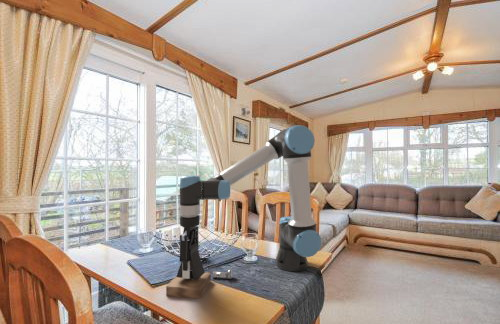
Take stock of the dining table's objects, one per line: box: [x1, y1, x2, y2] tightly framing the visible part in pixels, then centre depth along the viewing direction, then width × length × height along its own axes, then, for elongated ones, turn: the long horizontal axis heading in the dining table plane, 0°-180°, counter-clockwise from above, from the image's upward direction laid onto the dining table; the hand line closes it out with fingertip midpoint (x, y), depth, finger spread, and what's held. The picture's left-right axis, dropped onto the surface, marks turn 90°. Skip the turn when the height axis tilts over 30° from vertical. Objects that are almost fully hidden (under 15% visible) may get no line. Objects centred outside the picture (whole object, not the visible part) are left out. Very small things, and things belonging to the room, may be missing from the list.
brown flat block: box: [165, 272, 212, 299], centre depth 98 cm, size 13×13×4 cm
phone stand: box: [176, 242, 206, 280], centre depth 98 cm, size 9×6×12 cm, turn 74°
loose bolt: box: [211, 268, 233, 280], centre depth 107 cm, size 8×4×4 cm, turn 82°
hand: (189, 273), depth 98 cm, fingers closed on phone stand, 6 cm apart
